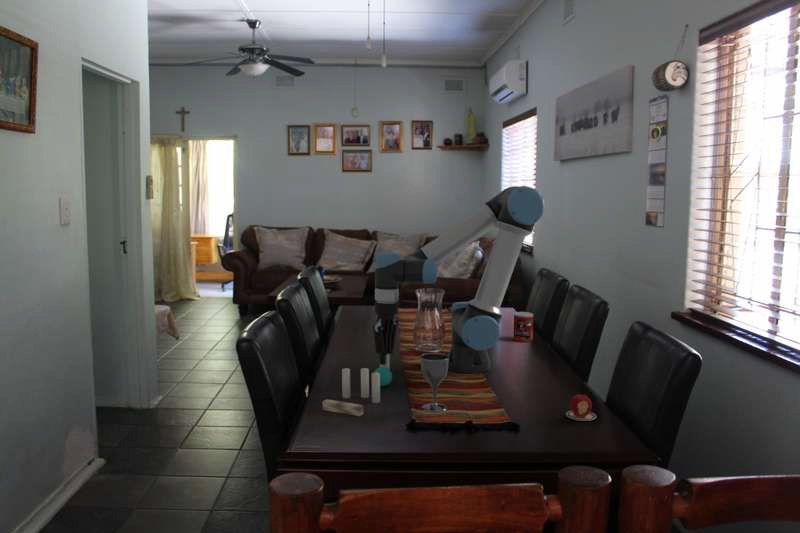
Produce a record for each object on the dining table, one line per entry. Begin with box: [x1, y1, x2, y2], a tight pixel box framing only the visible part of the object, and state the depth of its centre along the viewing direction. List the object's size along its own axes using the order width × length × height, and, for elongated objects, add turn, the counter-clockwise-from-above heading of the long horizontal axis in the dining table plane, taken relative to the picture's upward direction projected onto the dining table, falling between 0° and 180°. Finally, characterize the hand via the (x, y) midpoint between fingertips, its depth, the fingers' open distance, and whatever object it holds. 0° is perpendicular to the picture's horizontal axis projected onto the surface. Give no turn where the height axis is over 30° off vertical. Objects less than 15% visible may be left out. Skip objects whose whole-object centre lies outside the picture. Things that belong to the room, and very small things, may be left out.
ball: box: [374, 366, 393, 387], centre depth 205 cm, size 6×6×6 cm
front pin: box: [360, 367, 370, 399], centre depth 194 cm, size 2×2×8 cm
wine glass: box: [420, 352, 449, 413], centre depth 184 cm, size 8×8×15 cm
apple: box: [565, 393, 597, 422], centre depth 177 cm, size 8×8×6 cm
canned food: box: [513, 311, 534, 343], centre depth 264 cm, size 8×8×11 cm
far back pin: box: [341, 367, 351, 399], centre depth 194 cm, size 2×2×8 cm
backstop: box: [322, 399, 364, 417], centre depth 182 cm, size 12×2×2 cm, turn 65°
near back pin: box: [371, 371, 381, 404], centre depth 190 cm, size 2×2×8 cm
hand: (384, 373), depth 209 cm, fingers closed
